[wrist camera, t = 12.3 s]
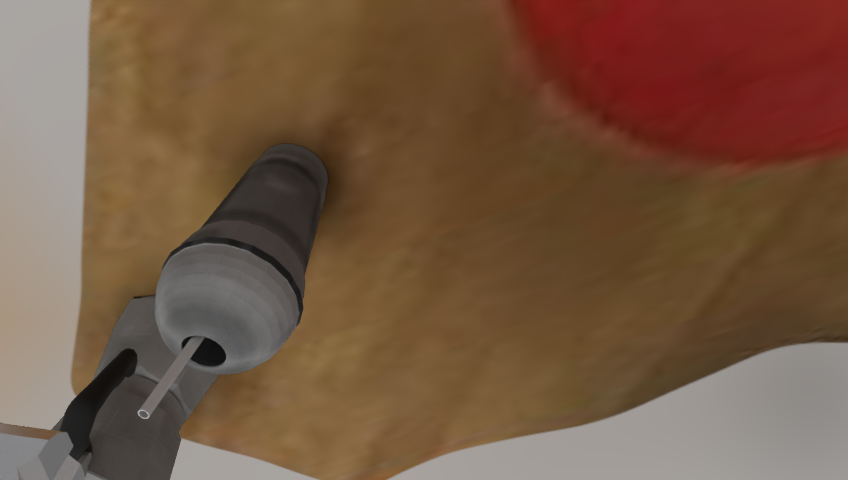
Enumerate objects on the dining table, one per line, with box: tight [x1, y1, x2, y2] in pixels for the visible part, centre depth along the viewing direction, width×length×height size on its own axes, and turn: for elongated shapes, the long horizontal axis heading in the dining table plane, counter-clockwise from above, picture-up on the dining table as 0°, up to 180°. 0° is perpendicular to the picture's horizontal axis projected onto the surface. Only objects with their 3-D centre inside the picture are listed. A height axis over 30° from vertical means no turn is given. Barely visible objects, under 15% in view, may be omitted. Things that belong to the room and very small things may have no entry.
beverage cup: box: [138, 144, 328, 419], centre depth 37 cm, size 7×7×20 cm
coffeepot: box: [52, 295, 219, 480], centre depth 48 cm, size 15×9×18 cm, turn 167°
